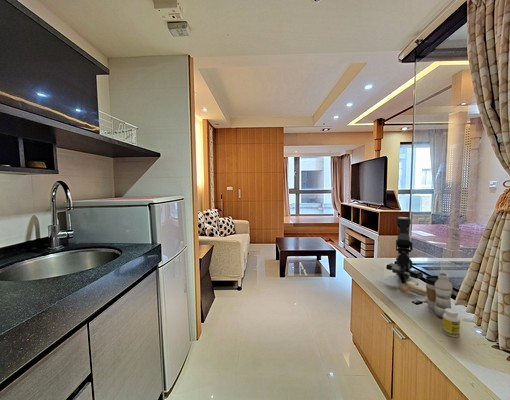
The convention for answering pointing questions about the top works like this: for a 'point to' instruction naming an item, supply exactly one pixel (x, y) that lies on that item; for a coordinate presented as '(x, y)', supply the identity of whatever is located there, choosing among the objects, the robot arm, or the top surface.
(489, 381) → the top surface
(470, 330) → the top surface
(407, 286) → the oak T block
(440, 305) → the plastic bottle
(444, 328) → the supplement bottle
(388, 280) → the grey flat panel
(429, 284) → the coffee cup
